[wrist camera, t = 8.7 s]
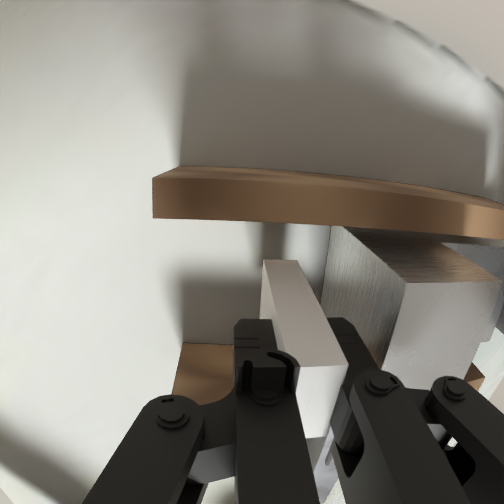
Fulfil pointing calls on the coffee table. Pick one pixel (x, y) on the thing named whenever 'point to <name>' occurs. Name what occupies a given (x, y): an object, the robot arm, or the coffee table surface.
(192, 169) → the parallel wooden rails
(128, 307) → the coffee table surface
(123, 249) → the coffee table surface
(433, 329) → the grey stepped block
